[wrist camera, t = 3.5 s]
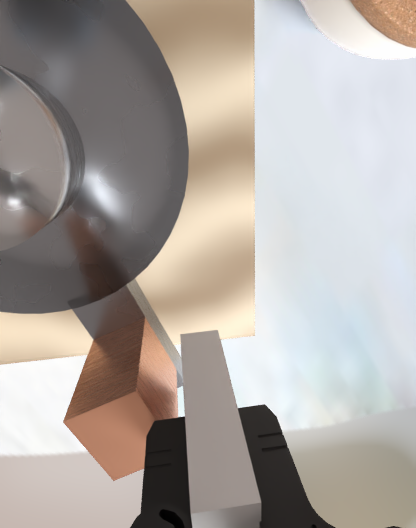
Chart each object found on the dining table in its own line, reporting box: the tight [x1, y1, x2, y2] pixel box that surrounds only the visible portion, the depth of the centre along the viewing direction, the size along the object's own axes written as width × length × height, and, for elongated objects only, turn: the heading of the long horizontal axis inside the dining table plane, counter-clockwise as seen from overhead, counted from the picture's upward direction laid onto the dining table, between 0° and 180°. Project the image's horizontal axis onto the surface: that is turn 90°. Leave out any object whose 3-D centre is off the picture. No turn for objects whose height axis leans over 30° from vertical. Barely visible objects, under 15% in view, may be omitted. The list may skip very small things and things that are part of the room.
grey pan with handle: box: [0, 0, 189, 481], centre depth 10 cm, size 18×12×6 cm
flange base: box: [0, 0, 255, 365], centre depth 15 cm, size 24×20×8 cm
